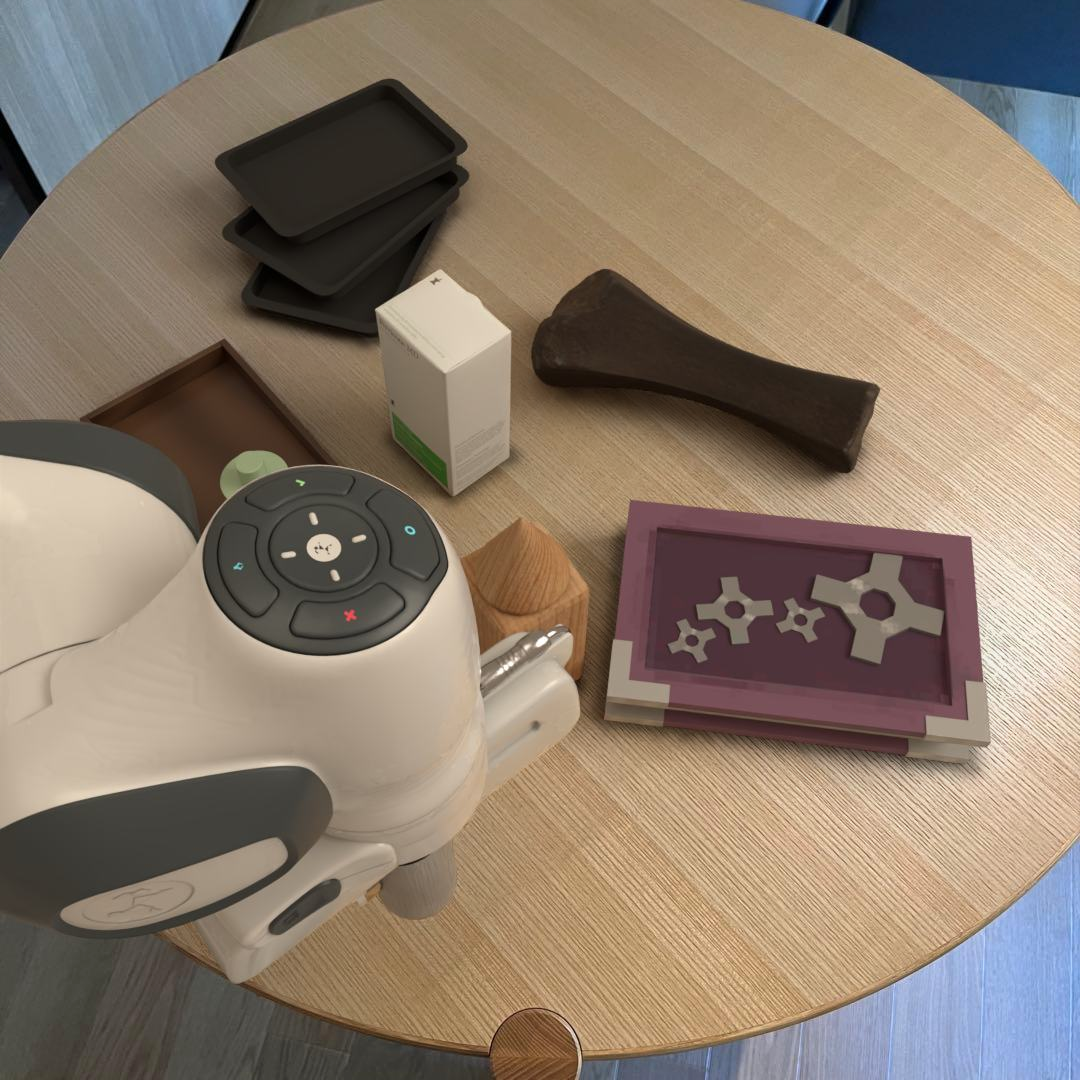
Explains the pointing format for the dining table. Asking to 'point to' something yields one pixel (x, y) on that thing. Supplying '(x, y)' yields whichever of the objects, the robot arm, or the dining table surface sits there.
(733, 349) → the dark brown bone
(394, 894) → the planter
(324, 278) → the tray
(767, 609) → the book
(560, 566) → the decorative item
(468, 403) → the cosmetic box
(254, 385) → the walnut tray
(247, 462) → the bottles
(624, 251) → the dining table surface
